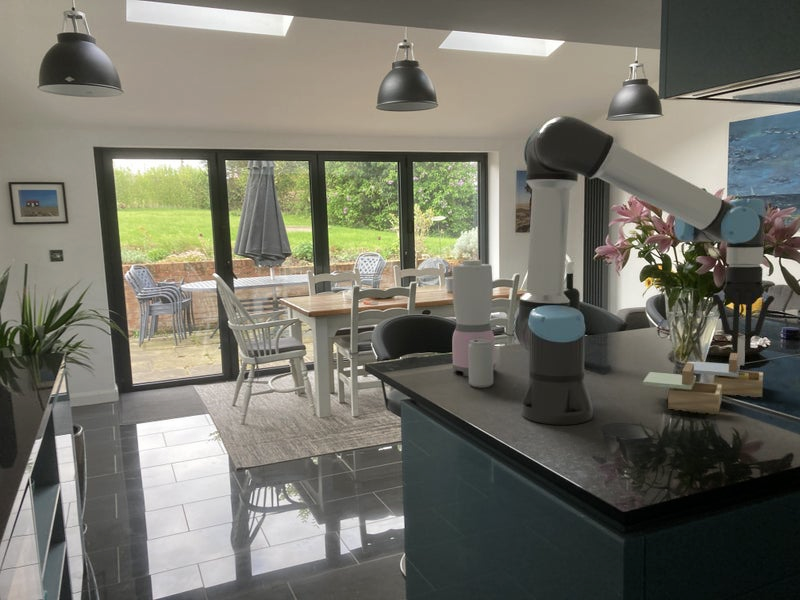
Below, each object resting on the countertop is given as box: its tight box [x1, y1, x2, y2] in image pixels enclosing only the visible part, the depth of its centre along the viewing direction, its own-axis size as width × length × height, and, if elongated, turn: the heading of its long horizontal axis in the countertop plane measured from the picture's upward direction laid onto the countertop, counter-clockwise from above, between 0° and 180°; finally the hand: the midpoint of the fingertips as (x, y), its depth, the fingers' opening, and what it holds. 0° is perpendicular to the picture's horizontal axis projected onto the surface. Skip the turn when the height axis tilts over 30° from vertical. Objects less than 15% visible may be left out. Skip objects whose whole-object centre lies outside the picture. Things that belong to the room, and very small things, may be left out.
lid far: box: [693, 352, 741, 377], centre depth 153 cm, size 10×10×4 cm
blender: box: [451, 259, 496, 377], centre depth 181 cm, size 16×12×32 cm
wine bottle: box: [564, 261, 581, 312], centre depth 190 cm, size 6×6×30 cm
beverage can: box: [468, 339, 494, 389], centre depth 165 cm, size 6×6×12 cm
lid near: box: [642, 362, 697, 389], centre depth 144 cm, size 10×10×4 cm
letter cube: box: [729, 372, 749, 380], centre depth 151 cm, size 4×4×4 cm
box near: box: [667, 381, 723, 415], centre depth 141 cm, size 10×10×4 cm
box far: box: [713, 369, 764, 398], centre depth 151 cm, size 10×10×4 cm
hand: (740, 363), depth 150 cm, fingers closed
